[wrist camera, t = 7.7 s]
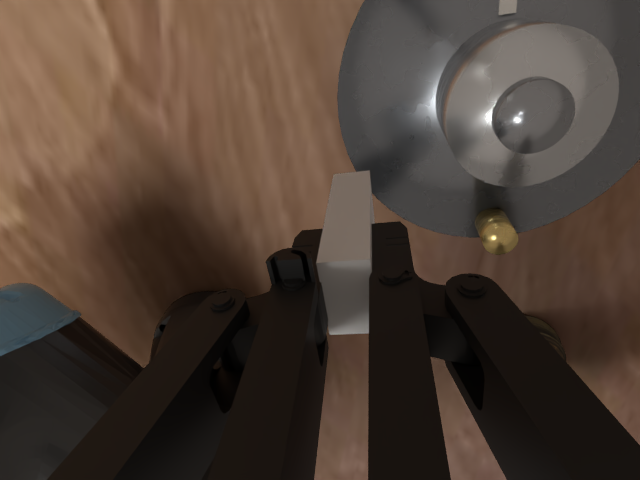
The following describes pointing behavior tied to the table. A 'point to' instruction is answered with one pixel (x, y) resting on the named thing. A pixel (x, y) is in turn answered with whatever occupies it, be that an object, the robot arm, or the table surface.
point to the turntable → (425, 132)
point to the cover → (526, 100)
